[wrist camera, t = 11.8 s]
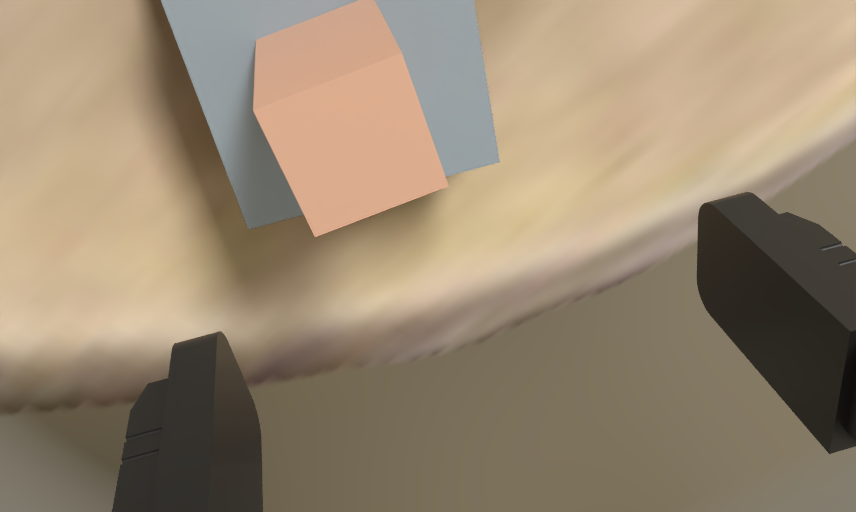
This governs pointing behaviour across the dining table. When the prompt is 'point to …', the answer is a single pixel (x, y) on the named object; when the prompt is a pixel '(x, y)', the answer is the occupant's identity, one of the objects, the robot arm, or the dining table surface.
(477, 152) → the tower top
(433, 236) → the dining table surface
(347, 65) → the terracotta block
